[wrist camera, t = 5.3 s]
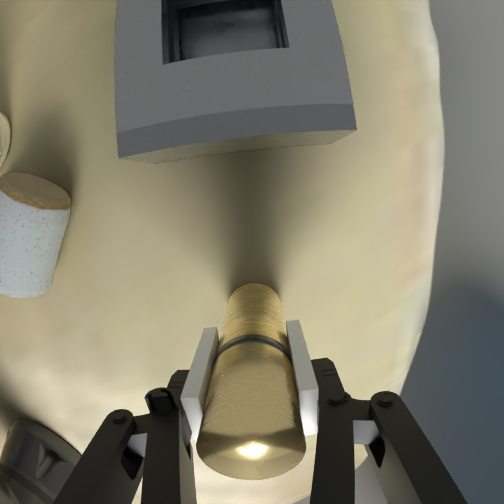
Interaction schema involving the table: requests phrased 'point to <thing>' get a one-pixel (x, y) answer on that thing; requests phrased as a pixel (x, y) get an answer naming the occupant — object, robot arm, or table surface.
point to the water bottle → (4, 137)
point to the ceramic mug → (30, 233)
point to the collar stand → (227, 77)
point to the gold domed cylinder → (252, 393)
